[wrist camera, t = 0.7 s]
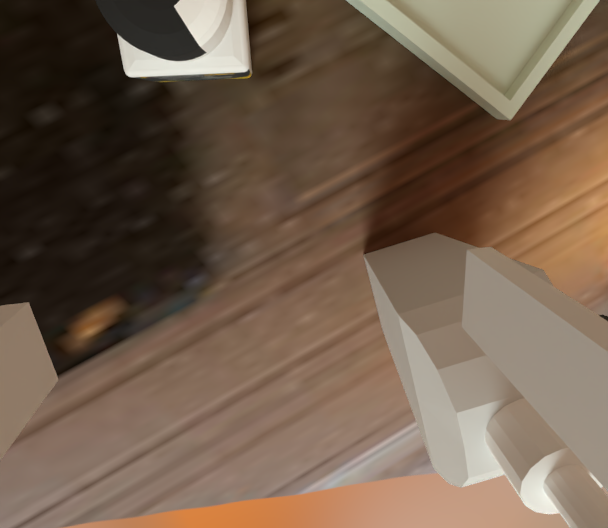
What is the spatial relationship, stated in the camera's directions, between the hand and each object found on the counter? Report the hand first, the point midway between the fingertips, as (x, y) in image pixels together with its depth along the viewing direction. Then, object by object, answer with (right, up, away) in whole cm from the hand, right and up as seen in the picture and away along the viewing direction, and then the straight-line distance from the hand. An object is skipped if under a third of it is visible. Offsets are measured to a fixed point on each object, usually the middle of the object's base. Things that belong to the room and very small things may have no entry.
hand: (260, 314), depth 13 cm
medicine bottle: (-6, +18, +16) cm, 25 cm away
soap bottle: (+10, -1, +26) cm, 27 cm away
